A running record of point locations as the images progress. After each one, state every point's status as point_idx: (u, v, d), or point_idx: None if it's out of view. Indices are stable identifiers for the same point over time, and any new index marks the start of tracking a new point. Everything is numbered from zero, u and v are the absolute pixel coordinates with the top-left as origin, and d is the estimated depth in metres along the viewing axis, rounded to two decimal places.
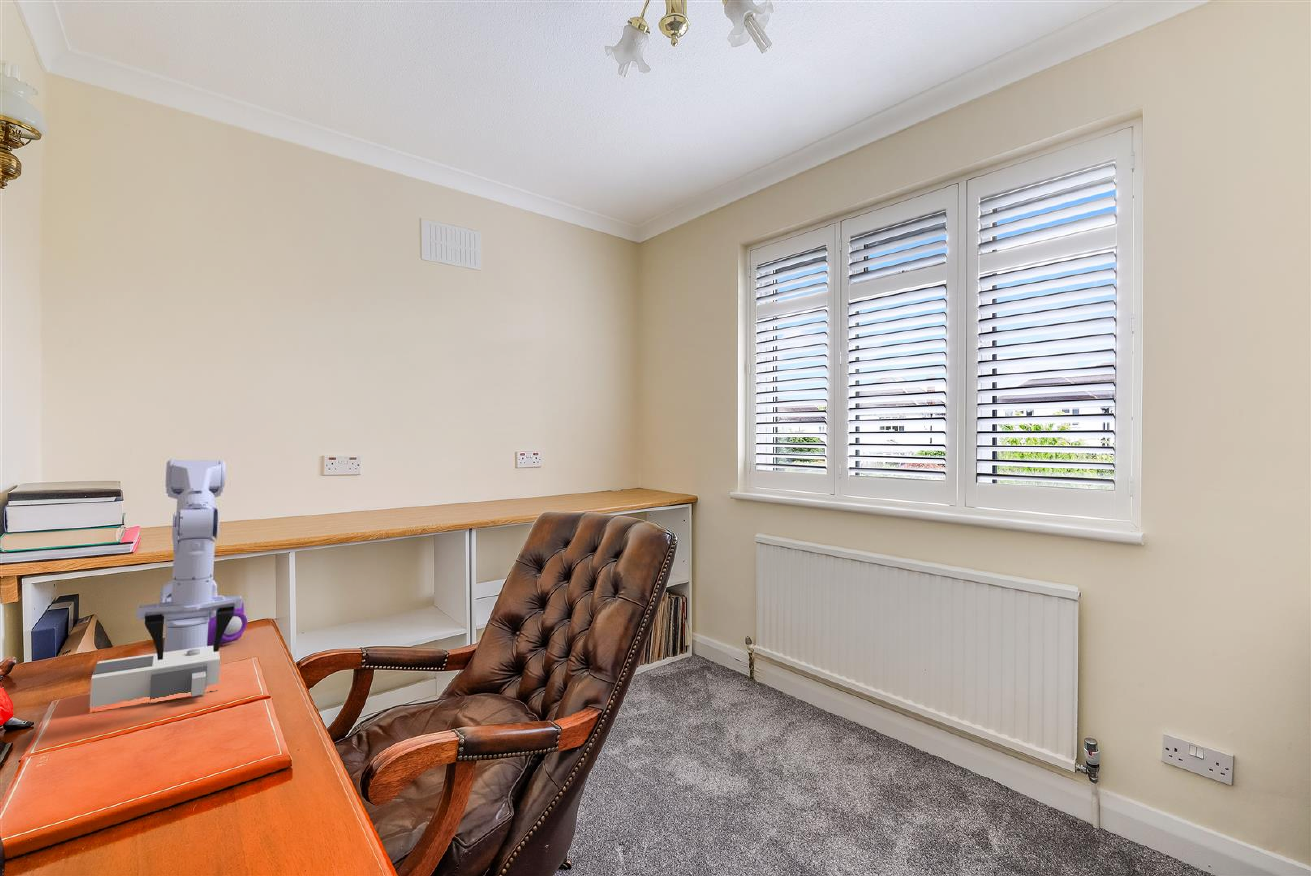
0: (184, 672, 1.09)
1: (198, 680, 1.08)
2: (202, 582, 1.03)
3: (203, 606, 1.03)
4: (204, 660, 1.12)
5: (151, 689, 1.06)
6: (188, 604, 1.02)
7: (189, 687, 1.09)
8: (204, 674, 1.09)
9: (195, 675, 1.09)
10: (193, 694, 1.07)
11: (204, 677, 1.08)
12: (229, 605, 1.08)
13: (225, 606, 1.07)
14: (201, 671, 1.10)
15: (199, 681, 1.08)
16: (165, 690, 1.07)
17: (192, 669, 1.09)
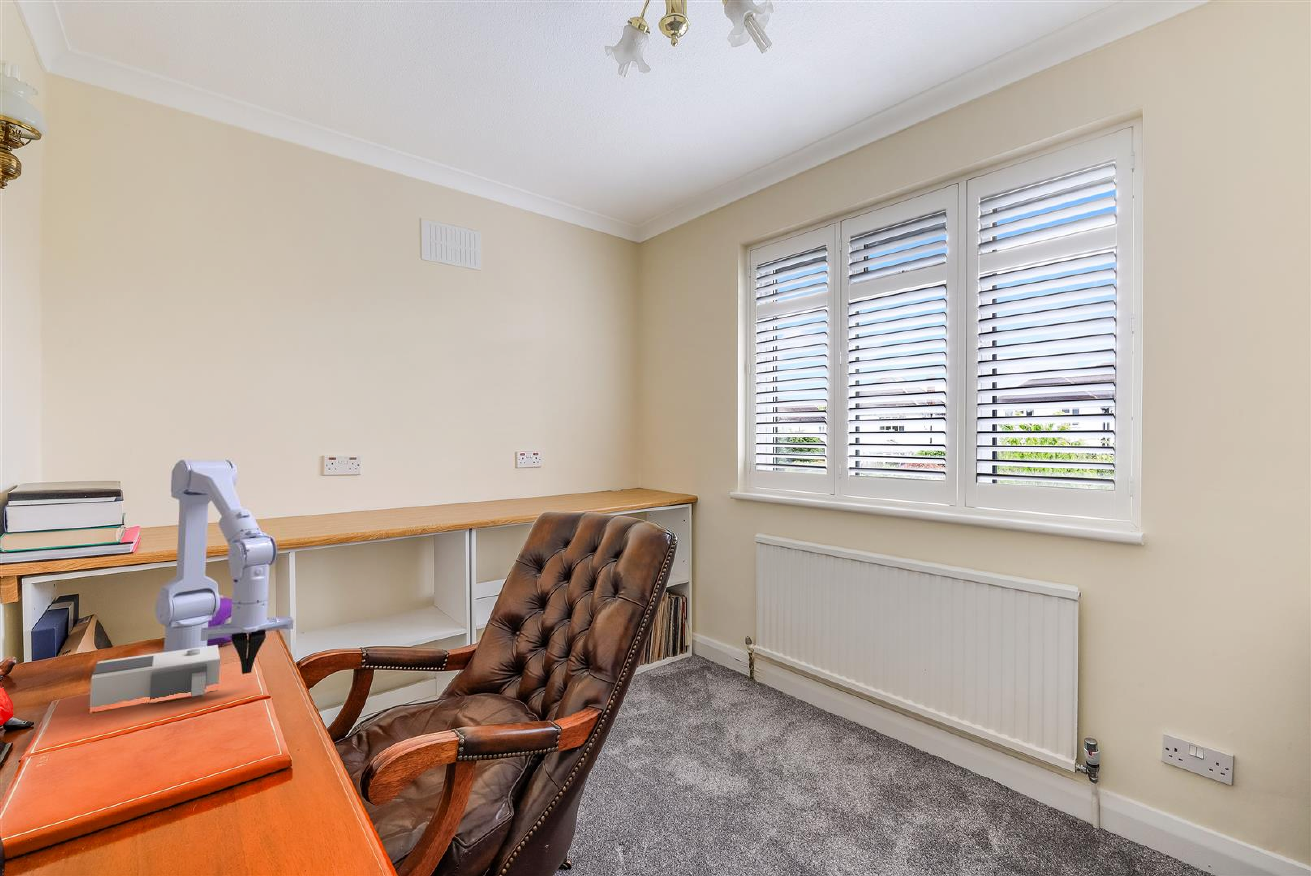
0: (184, 672, 1.09)
1: (198, 680, 1.08)
2: (259, 605, 1.12)
3: (260, 627, 1.12)
4: (204, 660, 1.12)
5: (151, 689, 1.06)
6: (247, 626, 1.11)
7: (189, 687, 1.09)
8: (204, 674, 1.09)
9: (195, 675, 1.09)
10: (193, 694, 1.07)
11: (204, 677, 1.08)
12: (282, 626, 1.16)
13: (278, 627, 1.16)
14: (201, 671, 1.10)
15: (199, 681, 1.08)
16: (165, 690, 1.07)
17: (192, 669, 1.09)
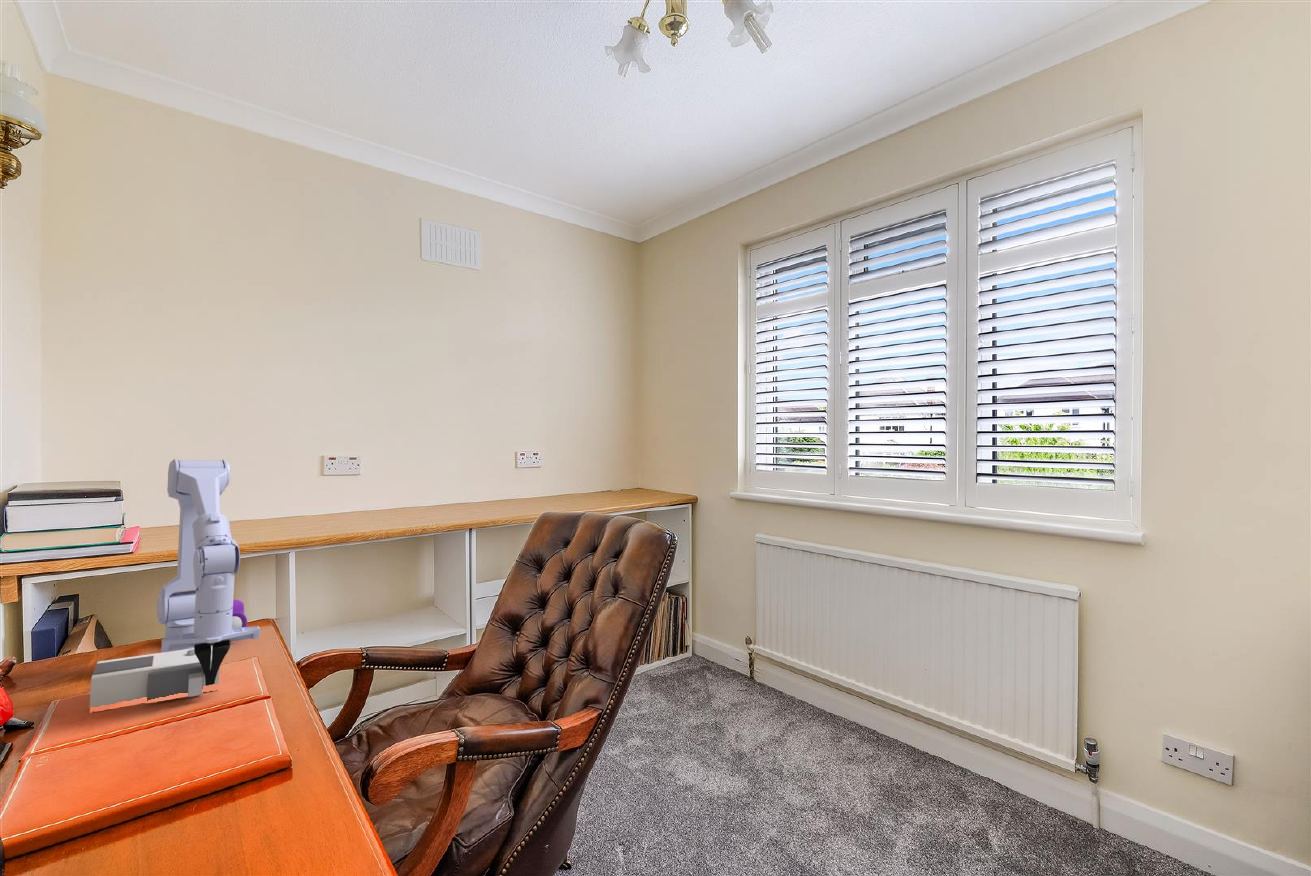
0: (181, 672, 1.08)
1: (195, 681, 1.07)
2: (223, 615, 1.09)
3: (224, 638, 1.09)
4: None
5: (148, 690, 1.06)
6: (210, 636, 1.07)
7: (186, 688, 1.09)
8: (201, 674, 1.09)
9: (191, 676, 1.08)
10: (190, 695, 1.07)
11: (201, 678, 1.08)
12: (248, 635, 1.13)
13: (244, 637, 1.12)
14: (198, 672, 1.10)
15: (196, 681, 1.07)
16: (162, 691, 1.07)
17: (189, 669, 1.09)
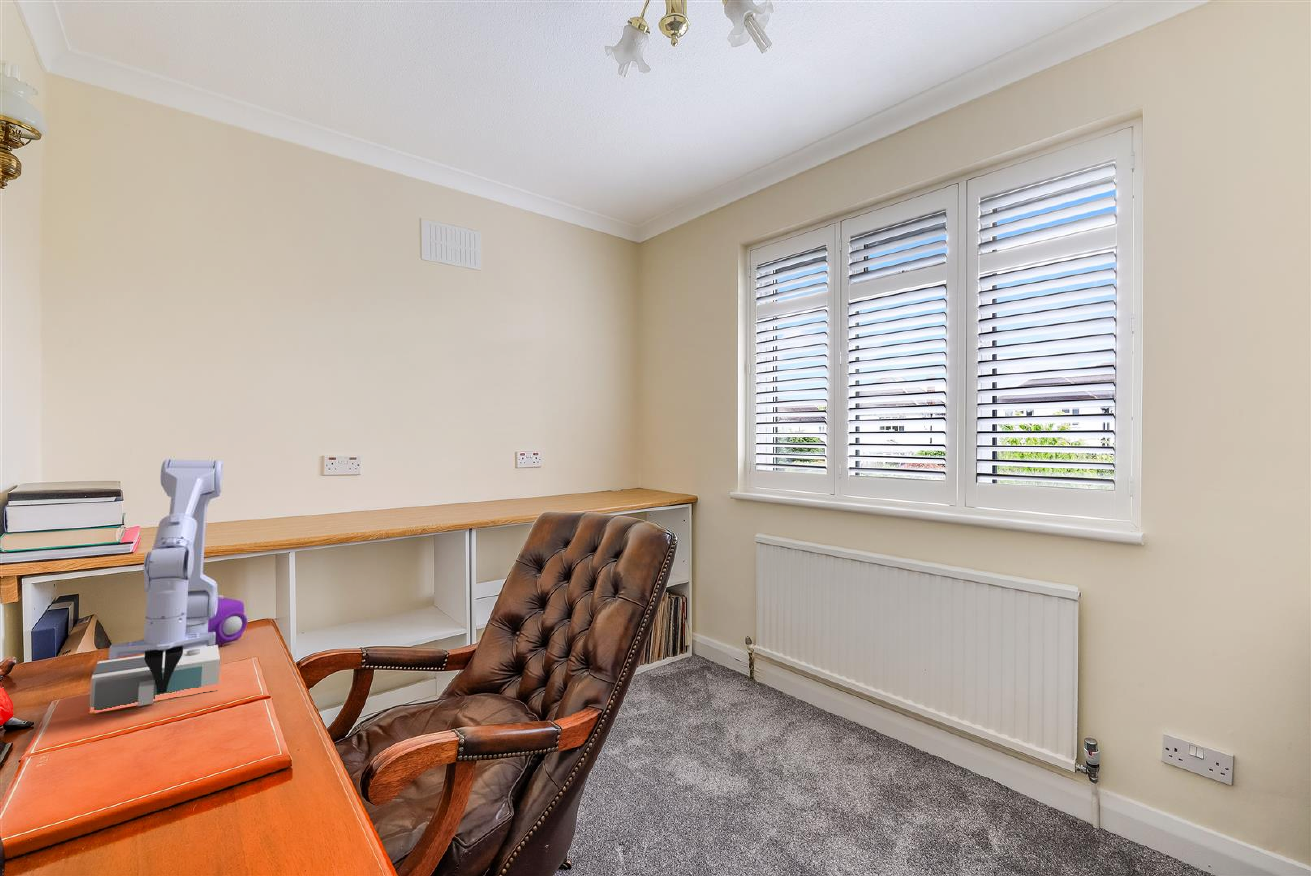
0: (131, 680, 1.04)
1: (145, 689, 1.03)
2: (175, 620, 1.04)
3: (176, 644, 1.04)
4: (204, 660, 1.12)
5: (95, 698, 1.01)
6: (161, 643, 1.03)
7: (137, 696, 1.05)
8: (152, 682, 1.05)
9: (142, 684, 1.04)
10: (140, 703, 1.03)
11: (152, 686, 1.04)
12: (203, 642, 1.09)
13: (199, 643, 1.08)
14: (150, 679, 1.06)
15: (147, 690, 1.03)
16: (111, 699, 1.03)
17: (140, 677, 1.05)
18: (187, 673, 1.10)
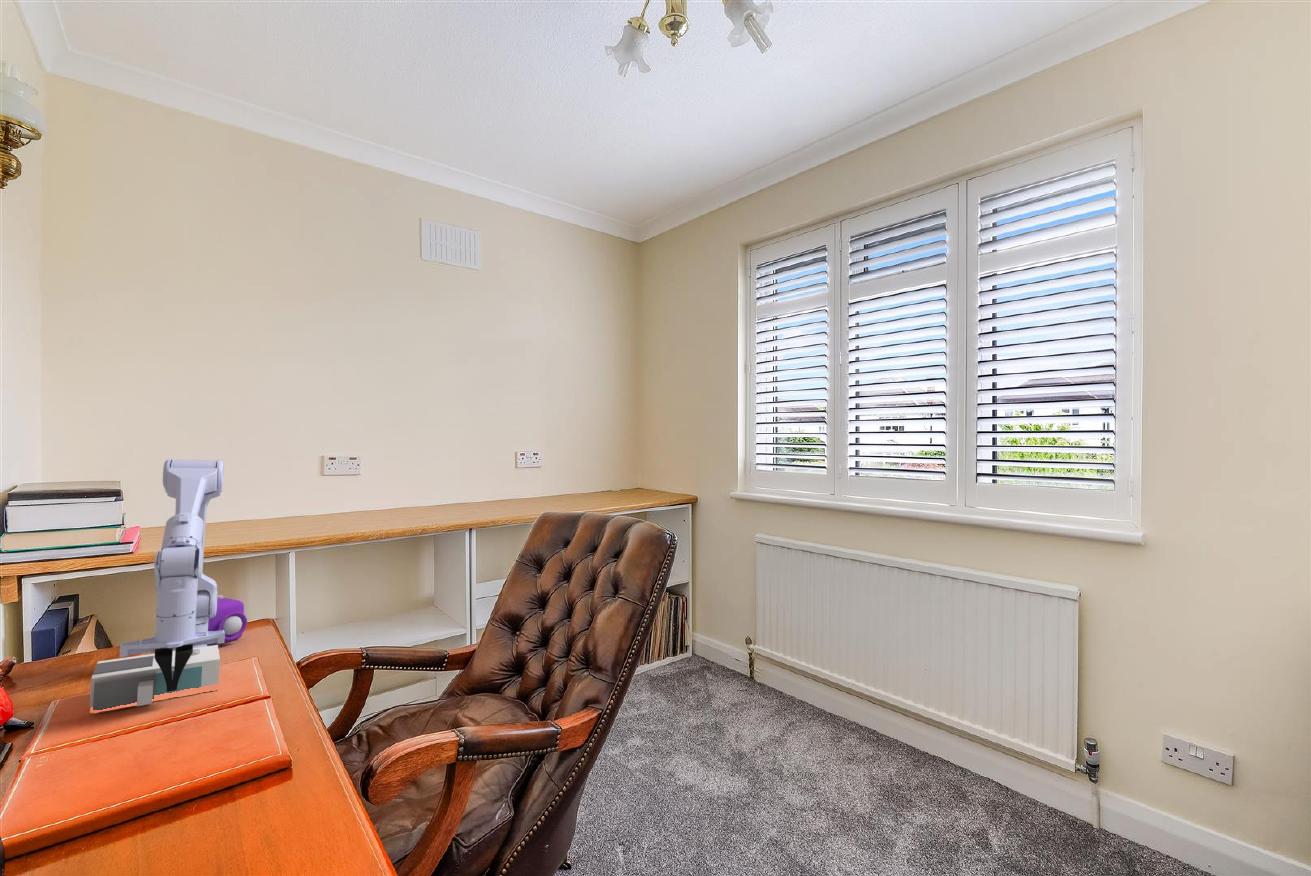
0: (130, 681, 1.04)
1: (144, 689, 1.03)
2: (185, 619, 1.05)
3: (186, 642, 1.05)
4: (204, 660, 1.12)
5: (94, 699, 1.01)
6: (171, 641, 1.04)
7: (136, 696, 1.05)
8: (151, 683, 1.05)
9: (141, 684, 1.04)
10: (139, 704, 1.03)
11: (151, 686, 1.04)
12: (212, 640, 1.10)
13: (208, 641, 1.09)
14: (149, 680, 1.06)
15: (146, 690, 1.03)
16: (110, 700, 1.02)
17: (139, 677, 1.05)
18: (187, 673, 1.10)
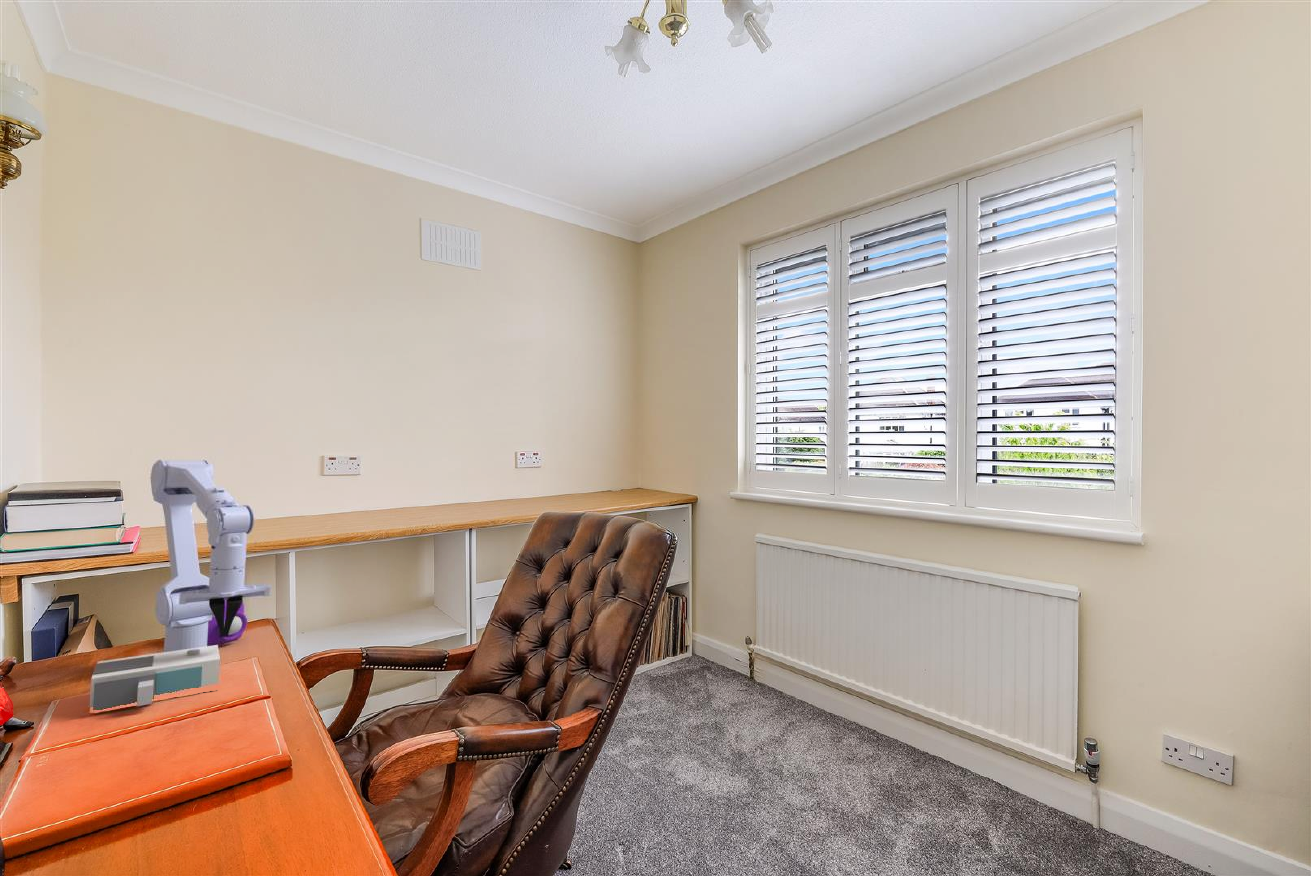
0: (130, 681, 1.04)
1: (144, 689, 1.03)
2: (236, 572, 1.16)
3: (237, 593, 1.16)
4: (204, 660, 1.12)
5: (94, 699, 1.01)
6: (224, 591, 1.15)
7: (136, 696, 1.05)
8: (151, 683, 1.05)
9: (141, 684, 1.04)
10: (139, 704, 1.03)
11: (151, 686, 1.04)
12: (259, 593, 1.20)
13: (256, 593, 1.20)
14: (149, 680, 1.06)
15: (146, 690, 1.03)
16: (110, 700, 1.02)
17: (139, 677, 1.05)
18: (187, 673, 1.10)
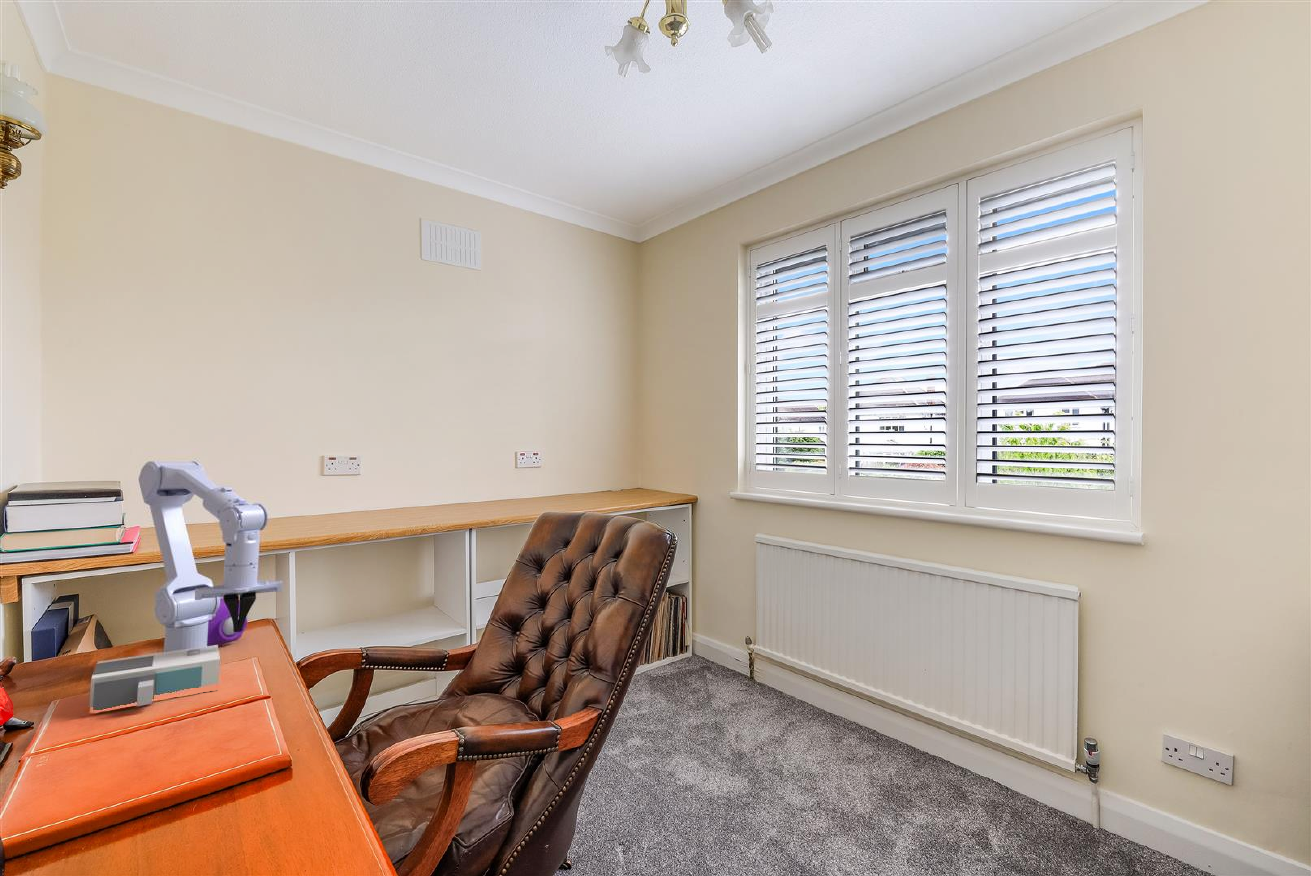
0: (130, 681, 1.04)
1: (144, 689, 1.03)
2: (250, 568, 1.19)
3: (250, 589, 1.19)
4: (204, 660, 1.12)
5: (94, 699, 1.01)
6: (238, 587, 1.18)
7: (136, 696, 1.05)
8: (151, 683, 1.05)
9: (141, 684, 1.04)
10: (139, 704, 1.03)
11: (151, 686, 1.04)
12: (271, 589, 1.24)
13: (268, 589, 1.23)
14: (149, 680, 1.06)
15: (146, 690, 1.03)
16: (110, 700, 1.02)
17: (139, 677, 1.05)
18: (187, 673, 1.10)
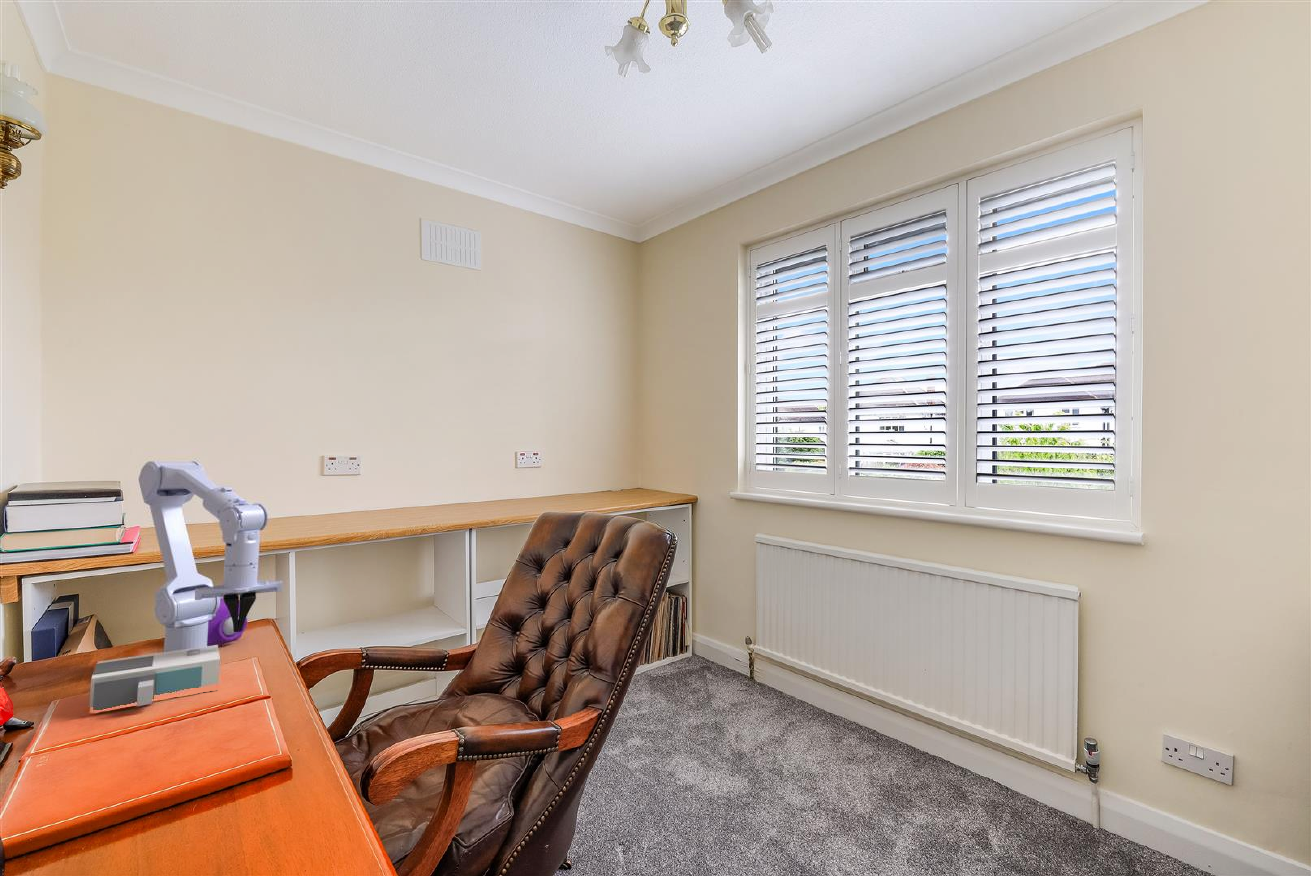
0: (130, 681, 1.04)
1: (144, 689, 1.03)
2: (250, 568, 1.19)
3: (250, 589, 1.19)
4: (204, 660, 1.12)
5: (94, 699, 1.01)
6: (238, 587, 1.18)
7: (136, 696, 1.05)
8: (151, 683, 1.05)
9: (141, 684, 1.04)
10: (139, 704, 1.03)
11: (151, 686, 1.04)
12: (271, 589, 1.24)
13: (268, 589, 1.23)
14: (149, 680, 1.06)
15: (146, 690, 1.03)
16: (110, 700, 1.02)
17: (139, 677, 1.05)
18: (187, 673, 1.10)
